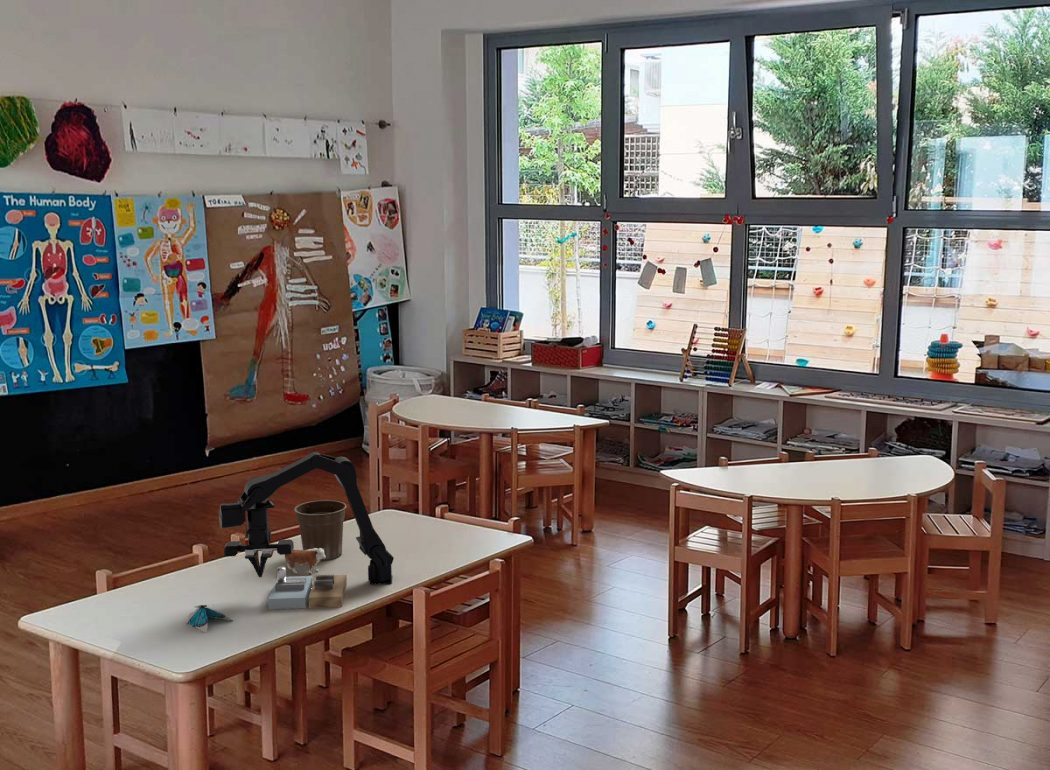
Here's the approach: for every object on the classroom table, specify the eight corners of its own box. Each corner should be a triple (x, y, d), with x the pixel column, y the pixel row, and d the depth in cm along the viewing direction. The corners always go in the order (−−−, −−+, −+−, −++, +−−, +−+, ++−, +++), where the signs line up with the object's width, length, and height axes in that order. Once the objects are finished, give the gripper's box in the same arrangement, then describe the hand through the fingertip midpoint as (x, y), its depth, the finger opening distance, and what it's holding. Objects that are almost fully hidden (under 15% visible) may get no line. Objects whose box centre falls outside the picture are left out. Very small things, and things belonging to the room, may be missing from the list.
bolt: (305, 584, 311) (304, 565, 310) (304, 587, 308) (303, 568, 308) (277, 585, 310) (276, 566, 309) (276, 588, 308) (275, 569, 307)
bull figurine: (325, 576, 327) (324, 550, 326) (283, 573, 330) (282, 547, 329) (330, 571, 331) (329, 546, 330) (289, 568, 334) (288, 543, 333)
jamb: (346, 584, 320) (346, 567, 319) (341, 606, 302) (341, 588, 301) (316, 585, 319) (315, 568, 318) (309, 607, 301) (308, 589, 301)
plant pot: (311, 567, 335) (309, 517, 333) (287, 554, 348) (285, 506, 345) (357, 556, 345) (355, 507, 343) (332, 544, 358) (330, 497, 355)
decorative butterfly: (205, 600, 298) (229, 598, 292) (210, 623, 298) (234, 621, 292) (175, 612, 289) (199, 609, 284) (180, 635, 289) (205, 633, 284)
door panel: (312, 585, 319) (311, 570, 318) (305, 608, 301) (304, 592, 301) (278, 586, 318) (277, 571, 318) (268, 609, 301) (268, 593, 300)
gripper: (294, 514, 314) (297, 566, 317) (229, 516, 313) (232, 568, 315) (289, 526, 303) (292, 579, 306) (222, 528, 302) (225, 581, 304)
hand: (260, 576), depth 308 cm, fingers closed
